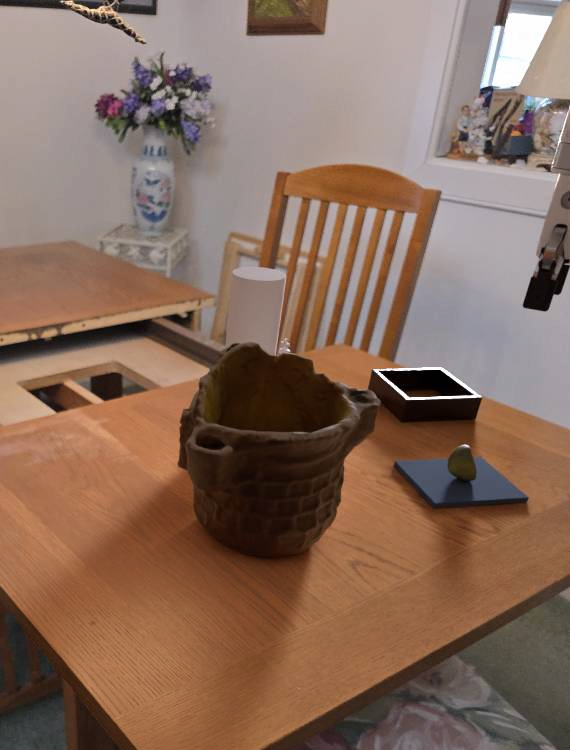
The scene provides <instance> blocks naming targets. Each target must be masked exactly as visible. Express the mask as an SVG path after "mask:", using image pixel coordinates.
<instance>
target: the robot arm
mask: <svg viewBox="0 0 570 750" xmlns="http://www.w3.org/2000/svg"><path fill="white" fill-rule="evenodd" d="M550 172H551V173H555V174H558V177H557V180H556V183H555V186H554V190H553V192H552V194H551V195H552V196H551V199H550V202H549V205H548V208H547V212H546V214H545V218H544V222H543V225H542V229H541V232H540V235H539V239H538V243H537V247H536V252H535V256H536V257H537V259H538V260H537V262H536V266H535V268H534V270H533V273H532V275H531V277H530V280H529V282H528V286H527V288H526V292H525V295H524V299H523V302H522V307H523V309H528V310H532V311H539V312H547V311H549V310H550V307H551V304H552V301H553V297H554V296H560V295H561V294H562V292H563V289H564V286H565V282H566V280H567V278H568V274H569V271H570V106H569V107H568V110H567V113H566V117H565V120H564V124H563V127H562V130H561V134H560V136H559V141H558V144H557V147H556V151H555V154H554V157H553V161H552V164H551V167H550Z"/></svg>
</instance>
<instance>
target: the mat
mask: <svg viewBox="0 0 570 750" xmlns="http://www.w3.org/2000/svg"><path fill="white" fill-rule="evenodd" d="M473 458H474V462H475V466H476V469H477V473H476V479H475V480H473V481H463V480H460V479H458V478H456V477H454V476H453V475H452V474H451V473H450V472H449V471H448V459H449V457H448V458H430V459H411V460H395V461H394V464H393V467H394V468H395V469H396V470H397V471H398V472H399V473H400V474H401V475H402V477H404V478H405V480H407V482H409V484H410V485H411V486H412V487H413V488H414V489H415V490H416V492H418V494H419V495H420V496H422V497H423V499H424V500H425V501H426V502H427V503H428V504H429V505H430V506H431V507H432V508H433V509H443V508H459V507H460V508H461V507H473V506H474V507H475V506H477V507H478V506H493V505H506V504H522V503H528V501H529V498H530V497H529V496H528V495H527V494H525V493H524V492H523V491H522V490H521V489H520V488H518V487H517V486H516V485H515V484H514V483H512V481H510V480H509V479H508V478H506V477H505V476H504V475H503V474H502V473H501V472H499V470H497V469H496V468H495V467H494V466H492V464H490V463H489V461H487V460H486V459H484V458H483V457H482V456H473Z"/></svg>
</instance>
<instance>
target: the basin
mask: <svg viewBox="0 0 570 750" xmlns="http://www.w3.org/2000/svg"><path fill="white" fill-rule="evenodd" d="M367 390H370V391H372V392H373V393H374V394H375V395H376V397H377V398H378V399H379V400H380V401H381V402H380V405H382V406H383V407H384V408H385V409H386V410H388V411H389V412H390V413H391V414H392V415H393V416H394V417H395V418H396V419H397V420H398V421H399V422H400V423H417V422H418V423H419V422H420V423H421V422H422V423H423V422H442V421H443V422H446V421H448V422H449V421H469V420H470V421H471V420H476V419H477V416H478V413H479V410H480V407H481V404H482V400H483V396H482V395H480V394H479V393H477V392H476V391H474V390H473V389H472V388H470V387H469V386H468V385H467V384H465V383H463V382H462V381H461V380H459V379H458V378H456V377H455V376H454V375H453V374H451V373H450V372H448V371H447V370H446V369H444V368H443V367H418V368H417V367H416V368H415V367H414V368H411V367H410V368H379V369H378V368H377V369H374V368H373V369H371V373H370V377H369V382H368V387H367ZM412 391H413V392H415V391H435V392H436V393H437V394H439V395H440V396H427V397H425V396H424V397H409V396H408V395H407V394H406V393H405V392H412Z"/></svg>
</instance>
